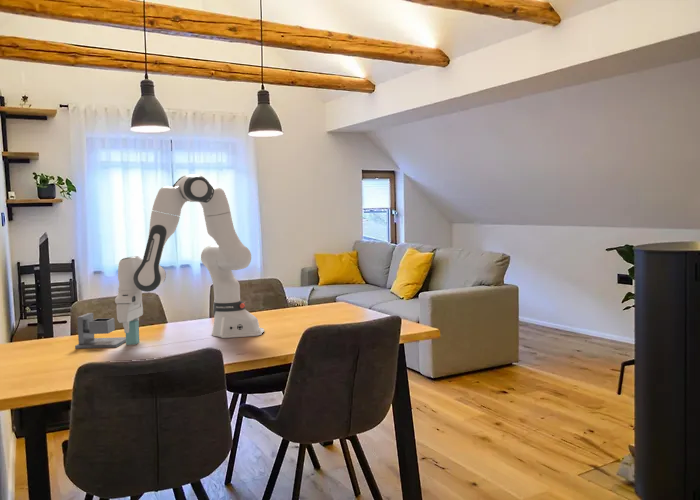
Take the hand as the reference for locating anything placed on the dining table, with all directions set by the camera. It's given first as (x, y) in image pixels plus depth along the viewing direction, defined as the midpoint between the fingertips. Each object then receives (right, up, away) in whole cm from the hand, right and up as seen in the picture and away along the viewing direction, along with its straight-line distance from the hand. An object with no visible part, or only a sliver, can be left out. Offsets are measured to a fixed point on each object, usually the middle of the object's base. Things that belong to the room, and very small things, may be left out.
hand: (131, 330), depth 228 cm
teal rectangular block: (0, -6, +1) cm, 6 cm away
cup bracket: (-12, -6, +1) cm, 13 cm away
